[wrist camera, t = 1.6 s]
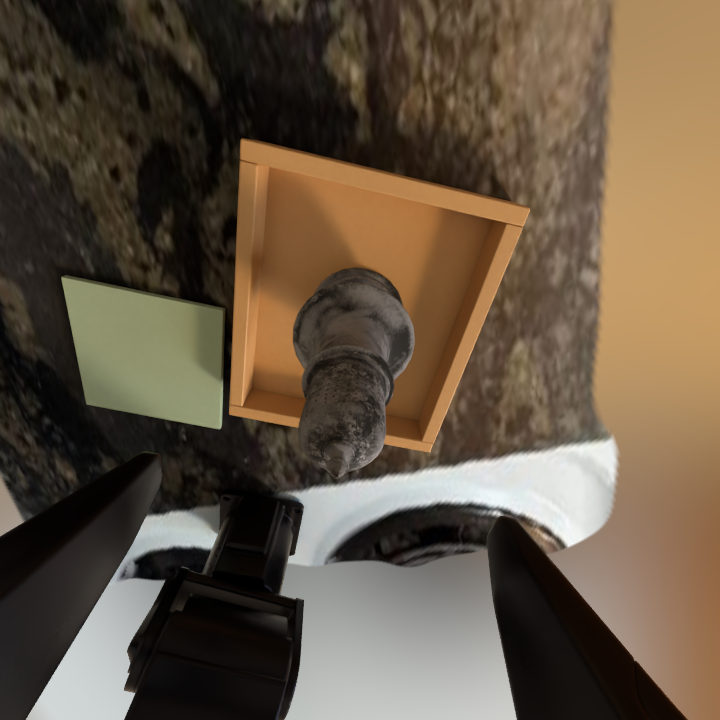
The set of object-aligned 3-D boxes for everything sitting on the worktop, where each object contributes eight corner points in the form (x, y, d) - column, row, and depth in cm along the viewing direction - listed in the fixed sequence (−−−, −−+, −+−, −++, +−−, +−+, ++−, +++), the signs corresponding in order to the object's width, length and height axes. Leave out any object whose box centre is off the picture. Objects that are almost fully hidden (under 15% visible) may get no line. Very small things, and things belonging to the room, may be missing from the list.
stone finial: (284, 295, 20) (185, 446, 10) (376, 240, 19) (375, 350, 8) (340, 374, 23) (309, 563, 12) (427, 331, 21) (476, 507, 10)
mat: (222, 425, 26) (220, 429, 25) (90, 401, 25) (86, 404, 25) (225, 308, 21) (223, 310, 21) (65, 274, 21) (60, 276, 20)
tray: (425, 428, 25) (430, 453, 23) (241, 392, 24) (228, 415, 22) (513, 201, 18) (531, 208, 16) (256, 140, 17) (239, 138, 15)
